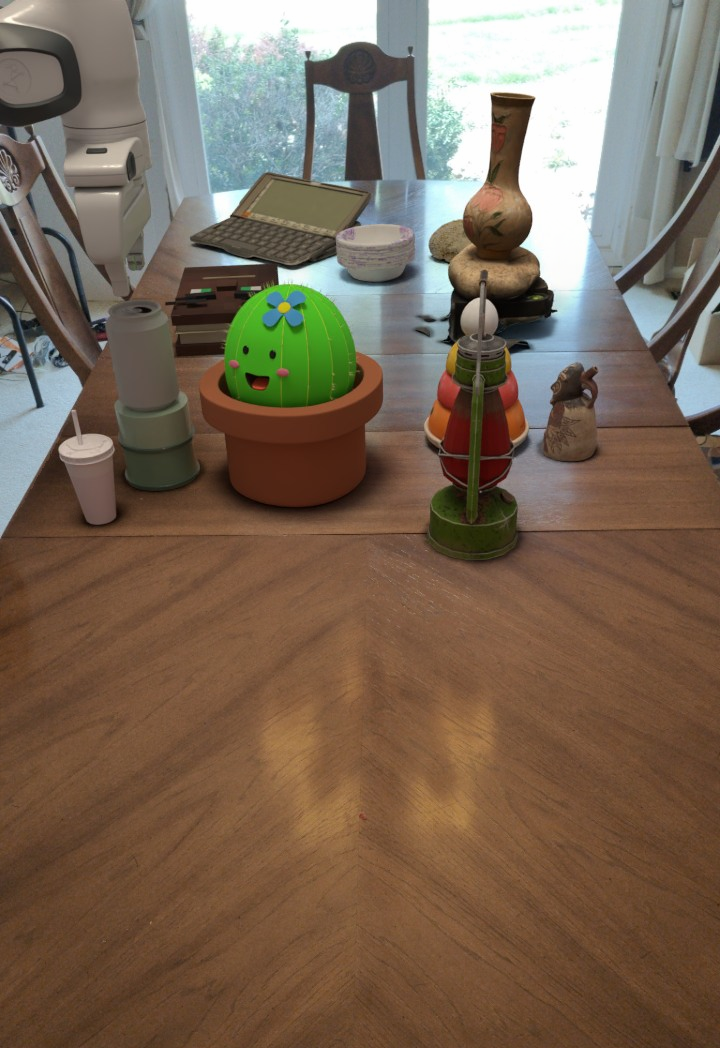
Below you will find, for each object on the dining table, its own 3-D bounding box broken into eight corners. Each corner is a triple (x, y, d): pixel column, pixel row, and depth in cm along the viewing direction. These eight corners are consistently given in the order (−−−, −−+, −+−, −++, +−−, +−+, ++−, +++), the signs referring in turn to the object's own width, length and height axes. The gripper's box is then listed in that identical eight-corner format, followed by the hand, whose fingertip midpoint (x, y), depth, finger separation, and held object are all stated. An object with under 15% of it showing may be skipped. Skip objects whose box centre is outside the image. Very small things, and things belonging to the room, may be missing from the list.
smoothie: (85, 502, 124) (62, 398, 115) (134, 505, 123) (114, 400, 114) (66, 529, 119) (40, 421, 110) (117, 531, 118) (95, 423, 109)
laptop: (269, 219, 228) (265, 170, 222) (375, 241, 211) (374, 189, 205) (187, 245, 213) (180, 193, 206) (294, 271, 196) (290, 216, 190)
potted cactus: (268, 427, 140) (251, 245, 124) (409, 455, 132) (410, 264, 116) (180, 497, 124) (149, 299, 109) (334, 534, 116) (324, 325, 101)
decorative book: (283, 254, 180) (282, 310, 156) (286, 295, 184) (285, 356, 161) (178, 259, 179) (160, 315, 156) (184, 300, 184) (167, 361, 160)
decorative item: (441, 250, 191) (424, 216, 195) (439, 285, 199) (423, 251, 203) (499, 235, 192) (481, 202, 197) (495, 271, 200) (478, 238, 204)
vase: (586, 330, 166) (612, 96, 144) (484, 362, 156) (497, 116, 135) (495, 295, 181) (506, 79, 160) (397, 321, 172) (396, 96, 150)
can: (192, 400, 124) (179, 304, 116) (144, 420, 119) (127, 322, 112) (156, 385, 128) (140, 292, 120) (108, 403, 123) (89, 308, 116)
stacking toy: (451, 409, 142) (455, 273, 131) (543, 429, 137) (556, 287, 125) (405, 450, 133) (405, 306, 121) (502, 472, 127) (512, 323, 115)
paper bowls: (334, 266, 198) (332, 224, 193) (408, 261, 199) (408, 220, 194) (341, 290, 186) (339, 246, 181) (420, 285, 187) (420, 241, 182)
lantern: (517, 570, 109) (539, 299, 90) (421, 565, 110) (424, 297, 92) (519, 507, 120) (539, 254, 101) (432, 503, 121) (436, 252, 103)
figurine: (556, 433, 135) (564, 349, 128) (604, 446, 132) (615, 360, 125) (532, 453, 131) (539, 367, 124) (581, 467, 127) (591, 379, 120)
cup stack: (119, 492, 126) (104, 420, 120) (132, 457, 134) (119, 387, 127) (195, 490, 126) (184, 417, 120) (204, 454, 133) (194, 385, 127)
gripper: (99, 133, 114) (119, 255, 123) (58, 173, 98) (84, 311, 106) (153, 131, 114) (170, 254, 123) (121, 171, 98) (142, 310, 106)
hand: (130, 281), depth 114 cm, fingers open, 8 cm apart
